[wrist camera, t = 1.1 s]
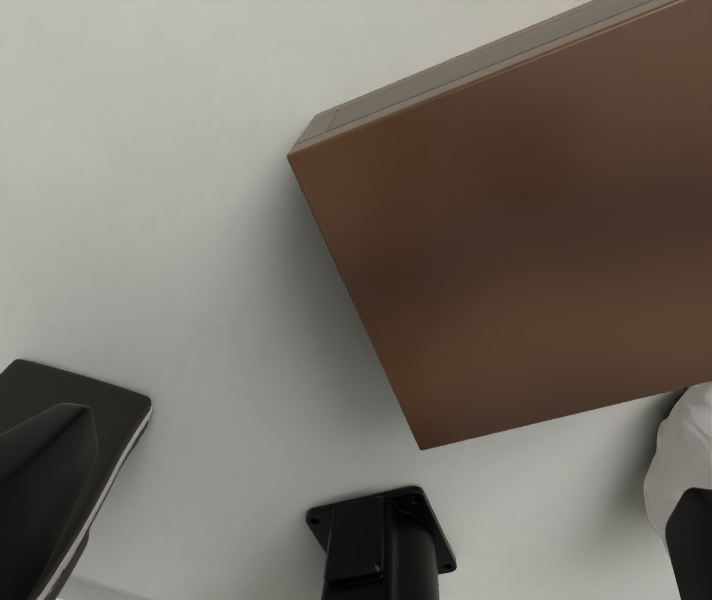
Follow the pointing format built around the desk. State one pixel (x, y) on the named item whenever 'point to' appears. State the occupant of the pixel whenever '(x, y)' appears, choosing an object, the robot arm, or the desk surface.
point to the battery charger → (114, 437)
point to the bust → (680, 456)
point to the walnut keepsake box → (530, 218)
